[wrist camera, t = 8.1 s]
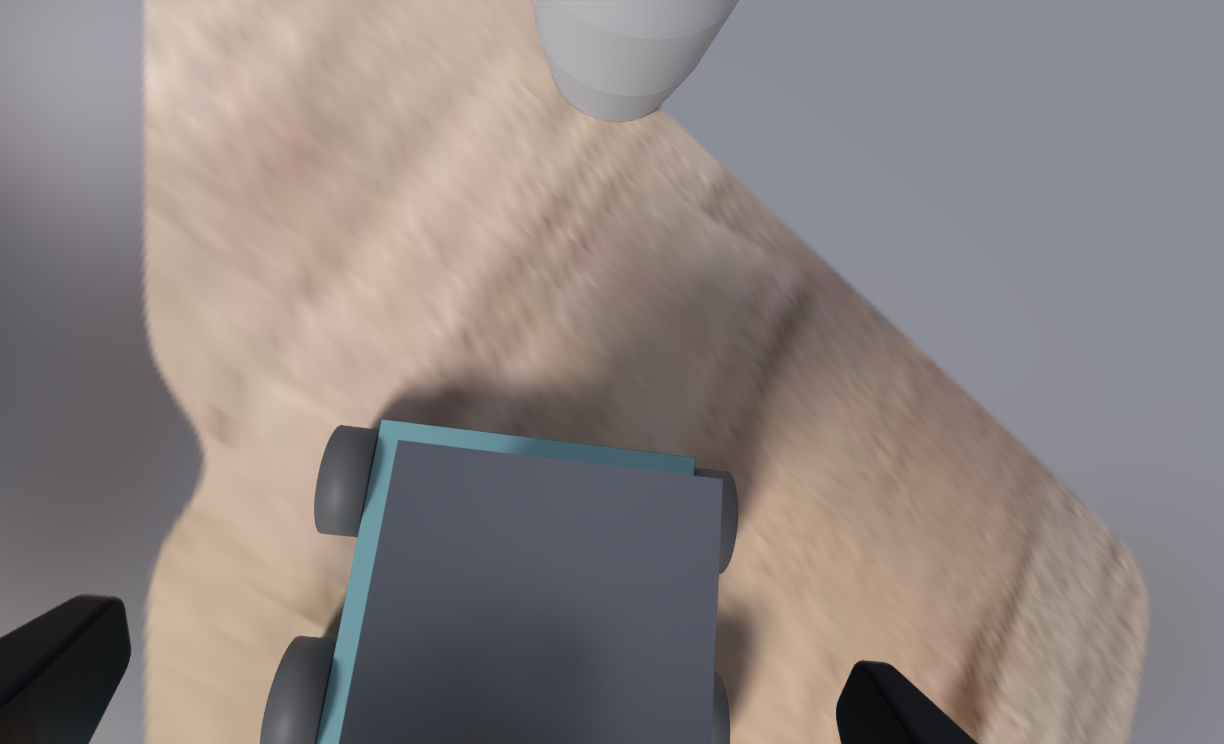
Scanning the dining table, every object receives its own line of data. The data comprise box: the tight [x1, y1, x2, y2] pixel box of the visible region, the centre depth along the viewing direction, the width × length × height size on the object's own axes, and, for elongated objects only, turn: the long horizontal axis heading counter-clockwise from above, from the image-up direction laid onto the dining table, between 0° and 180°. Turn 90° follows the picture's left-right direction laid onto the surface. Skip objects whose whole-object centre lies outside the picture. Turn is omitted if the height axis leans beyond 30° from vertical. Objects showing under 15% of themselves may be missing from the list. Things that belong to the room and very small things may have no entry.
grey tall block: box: [339, 440, 723, 744], centre depth 15 cm, size 4×4×13 cm
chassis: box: [260, 420, 738, 744], centre depth 20 cm, size 10×12×3 cm
